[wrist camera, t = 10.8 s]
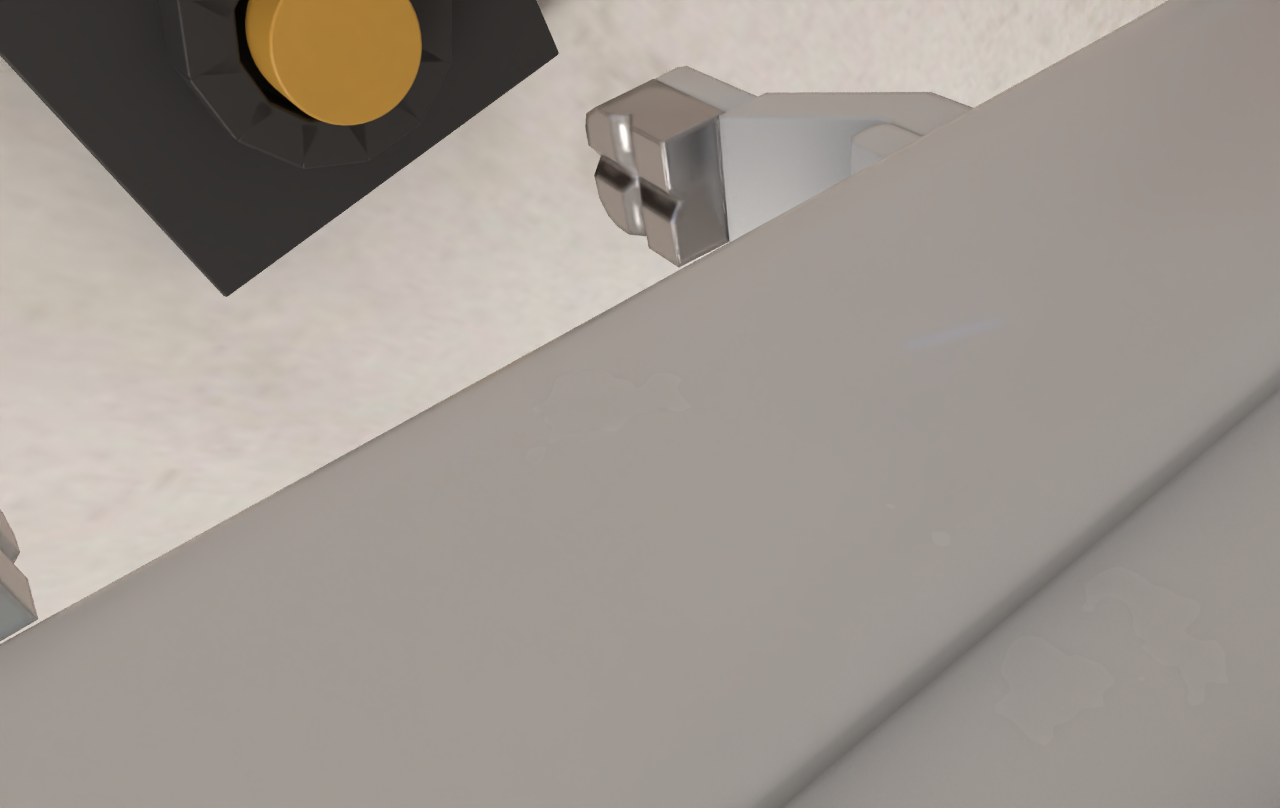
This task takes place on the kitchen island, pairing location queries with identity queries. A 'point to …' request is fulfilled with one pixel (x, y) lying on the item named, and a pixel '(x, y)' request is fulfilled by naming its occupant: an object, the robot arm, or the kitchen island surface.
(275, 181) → the button box
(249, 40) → the button
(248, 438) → the kitchen island surface
